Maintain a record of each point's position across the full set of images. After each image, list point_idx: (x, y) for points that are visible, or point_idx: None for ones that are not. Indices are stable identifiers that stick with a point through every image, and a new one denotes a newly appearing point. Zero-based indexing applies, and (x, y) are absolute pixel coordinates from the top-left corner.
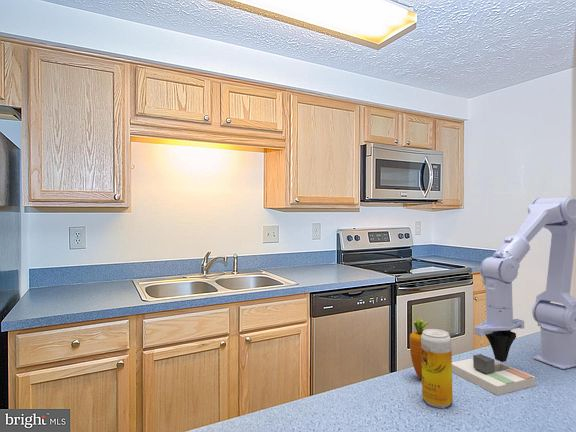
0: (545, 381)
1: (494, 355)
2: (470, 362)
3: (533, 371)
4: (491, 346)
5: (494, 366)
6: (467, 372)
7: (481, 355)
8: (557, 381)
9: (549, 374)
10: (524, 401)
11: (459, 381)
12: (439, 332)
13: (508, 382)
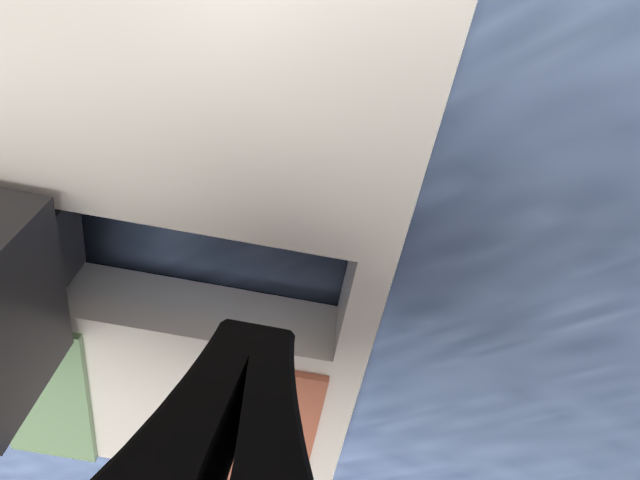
0: (462, 444)
1: (204, 351)
2: (37, 23)
3: (613, 353)
4: (126, 447)
5: (43, 387)
6: None
7: None
8: (526, 476)
9: (633, 426)
10: (70, 460)
11: None
12: None
13: (38, 449)
